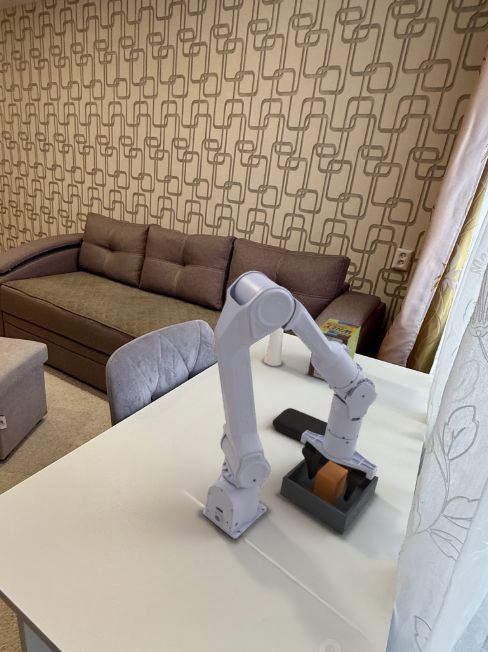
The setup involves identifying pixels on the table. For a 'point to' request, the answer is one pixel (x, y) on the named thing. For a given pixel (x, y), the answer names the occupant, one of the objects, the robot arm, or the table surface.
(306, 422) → the carrying case
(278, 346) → the cosmetic bottle
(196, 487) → the table surface
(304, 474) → the bin
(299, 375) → the table surface
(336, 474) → the block
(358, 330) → the protein box
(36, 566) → the table surface
